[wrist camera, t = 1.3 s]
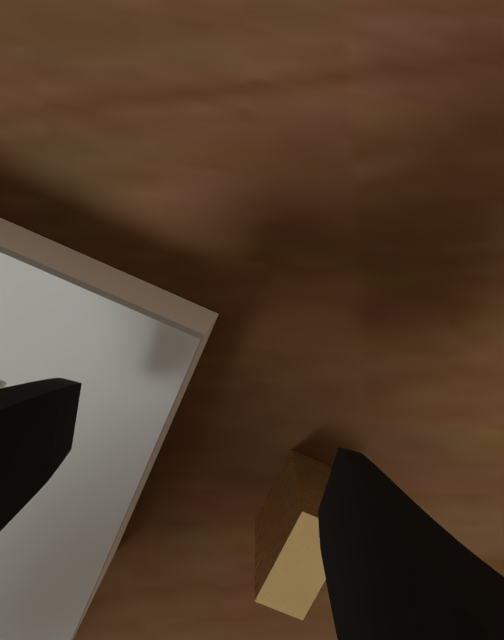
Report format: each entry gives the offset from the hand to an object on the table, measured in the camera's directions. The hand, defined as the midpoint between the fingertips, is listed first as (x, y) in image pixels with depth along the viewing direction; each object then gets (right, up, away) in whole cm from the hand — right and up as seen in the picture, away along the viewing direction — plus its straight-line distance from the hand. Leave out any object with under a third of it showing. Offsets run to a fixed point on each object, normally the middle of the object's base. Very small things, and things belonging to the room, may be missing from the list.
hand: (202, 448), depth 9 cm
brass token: (+4, -7, +11) cm, 13 cm away
